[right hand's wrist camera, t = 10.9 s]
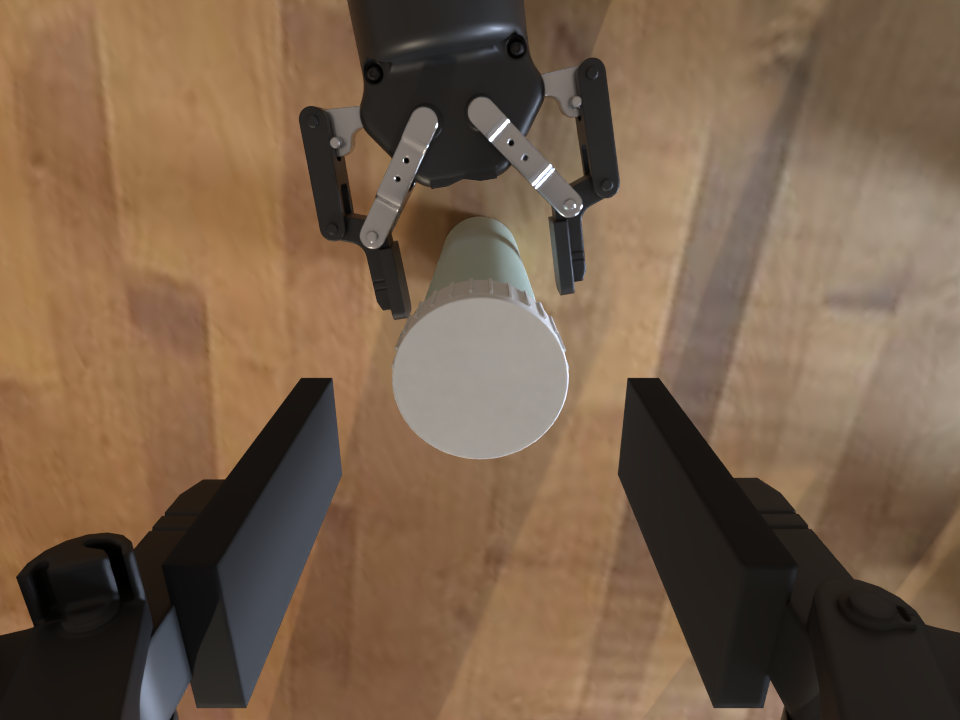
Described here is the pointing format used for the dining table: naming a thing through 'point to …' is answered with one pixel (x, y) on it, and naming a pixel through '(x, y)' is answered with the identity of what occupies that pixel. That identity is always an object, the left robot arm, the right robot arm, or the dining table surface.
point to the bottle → (480, 256)
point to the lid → (480, 370)
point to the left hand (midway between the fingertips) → (484, 303)
